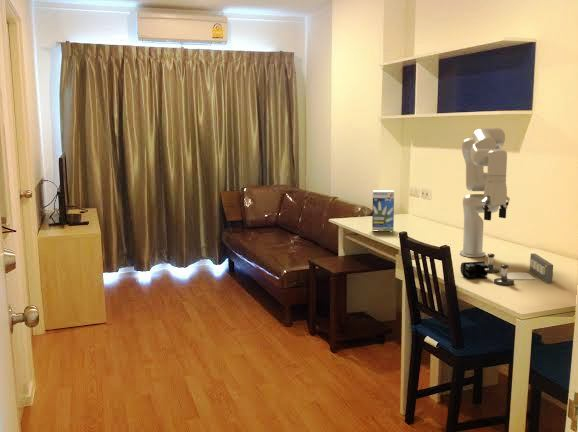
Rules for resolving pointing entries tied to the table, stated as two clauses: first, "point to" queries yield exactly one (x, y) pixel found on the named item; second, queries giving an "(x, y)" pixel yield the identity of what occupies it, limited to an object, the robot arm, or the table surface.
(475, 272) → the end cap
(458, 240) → the table surface
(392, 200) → the string lights box
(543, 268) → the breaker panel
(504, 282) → the post right
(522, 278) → the view mat
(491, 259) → the post left
